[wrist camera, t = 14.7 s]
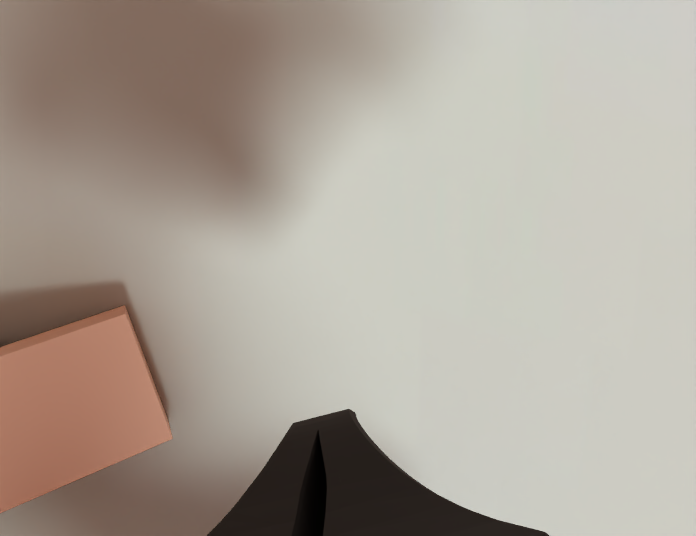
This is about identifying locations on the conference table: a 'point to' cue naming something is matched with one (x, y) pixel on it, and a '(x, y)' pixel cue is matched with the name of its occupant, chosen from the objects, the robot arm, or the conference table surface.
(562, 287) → the conference table surface
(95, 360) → the tile
